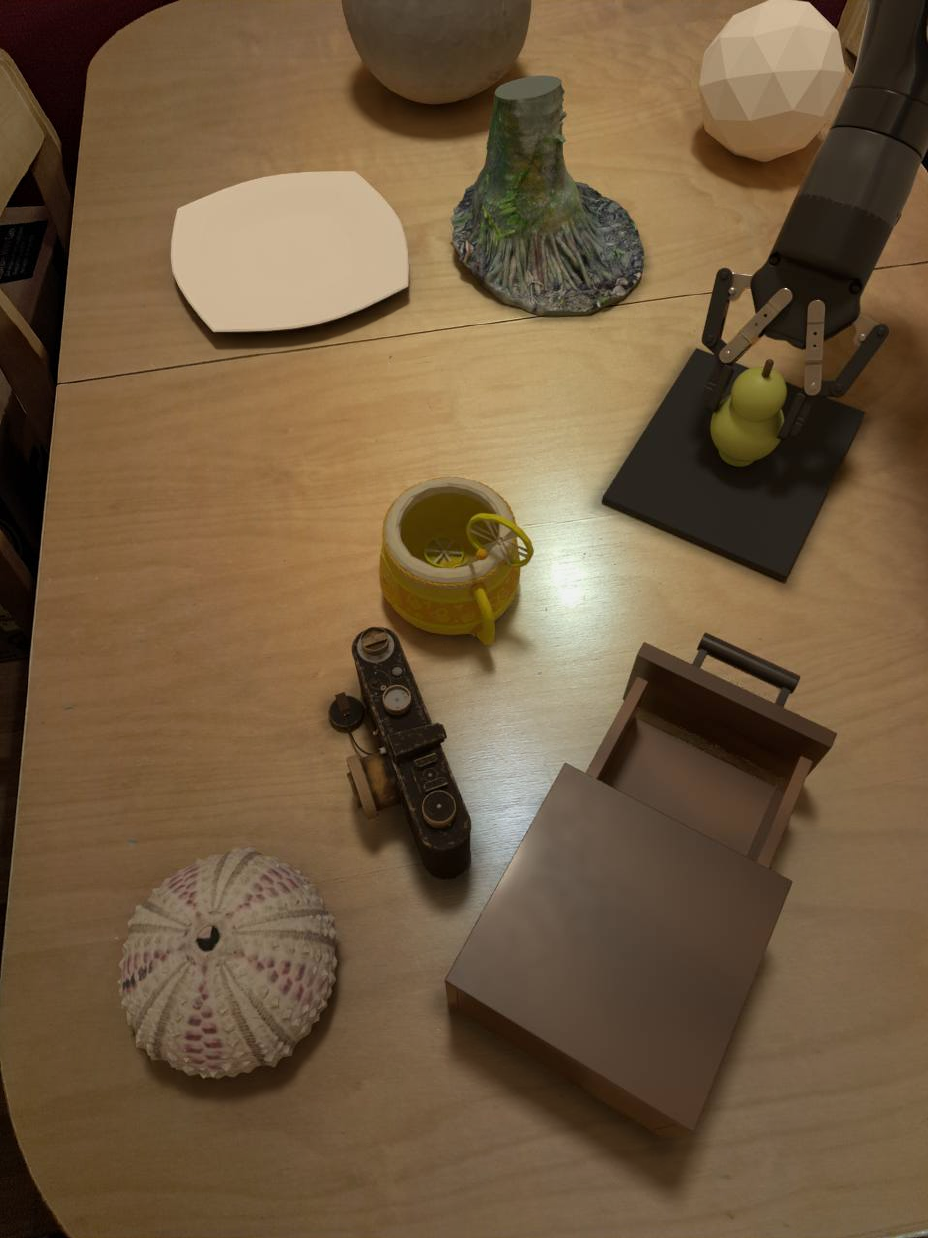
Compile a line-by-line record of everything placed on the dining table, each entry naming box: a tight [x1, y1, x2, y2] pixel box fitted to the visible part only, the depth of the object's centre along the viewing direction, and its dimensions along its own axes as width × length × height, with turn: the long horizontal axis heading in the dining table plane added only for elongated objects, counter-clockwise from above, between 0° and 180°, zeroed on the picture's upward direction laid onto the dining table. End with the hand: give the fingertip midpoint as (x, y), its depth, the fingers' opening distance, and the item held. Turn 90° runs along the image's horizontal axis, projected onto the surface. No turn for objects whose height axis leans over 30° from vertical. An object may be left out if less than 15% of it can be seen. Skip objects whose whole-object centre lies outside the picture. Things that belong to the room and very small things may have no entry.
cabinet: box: [444, 762, 793, 1139], centre depth 56 cm, size 15×15×9 cm
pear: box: [710, 358, 787, 467], centre depth 75 cm, size 6×6×11 cm
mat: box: [601, 347, 866, 582], centre depth 80 cm, size 16×20×1 cm
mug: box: [378, 476, 535, 646], centre depth 69 cm, size 13×11×12 cm
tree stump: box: [450, 75, 645, 317], centre depth 90 cm, size 18×20×18 cm
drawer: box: [585, 632, 838, 869], centre depth 62 cm, size 18×13×7 cm
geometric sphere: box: [698, 0, 846, 163], centre depth 98 cm, size 14×15×15 cm
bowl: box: [341, 0, 532, 105], centre depth 103 cm, size 20×20×15 cm
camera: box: [327, 626, 472, 881], centre depth 63 cm, size 16×7×8 cm, turn 21°
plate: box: [170, 170, 410, 334], centre depth 93 cm, size 23×23×2 cm
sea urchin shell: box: [116, 846, 341, 1080], centre depth 56 cm, size 13×14×8 cm
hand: (745, 424), depth 75 cm, fingers closed on pear, 5 cm apart
